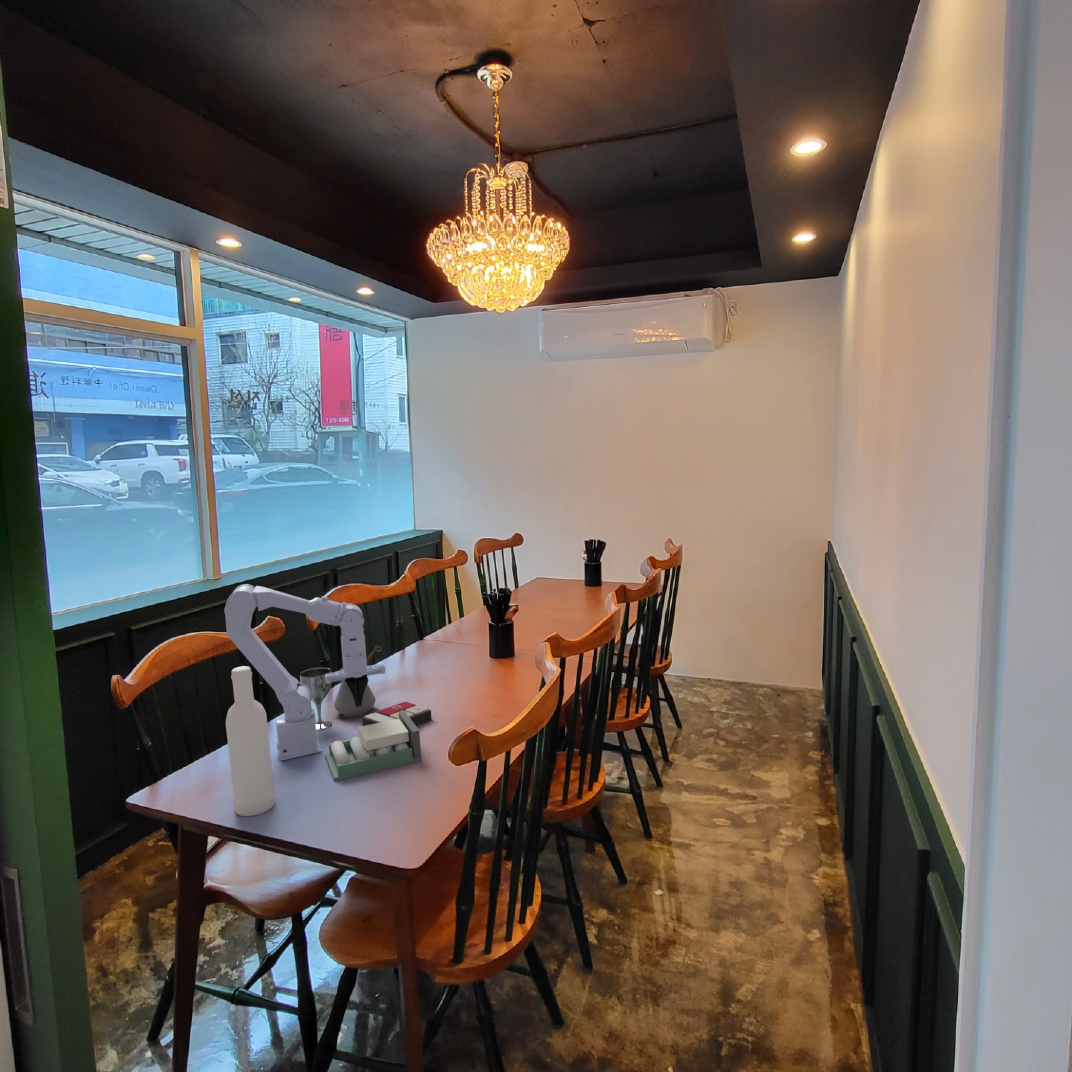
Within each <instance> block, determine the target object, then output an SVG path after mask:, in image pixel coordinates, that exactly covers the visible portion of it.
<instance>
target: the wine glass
mask: <svg viewBox="0 0 1072 1072" xmlns="http://www.w3.org/2000/svg"><path fill="white" fill-rule="evenodd" d="M330 673H332V670H331V668H330V667H322V666H321V667H312V668H308V669H306V670H303V671H301V672H300V674H299V678H300V683H301V684H304V685H306V686H308V687H309V688H310V689H311V691H312V699H311V702H313V704H314V706H315V709H316V712H317V720H316V721H317V722H316V729H325V730H327V727H329V726H332V724H331V723H333V722H334V721H333V722H331V721H332V720H330V721H327V720H328V719H322V705H323V702H324V700H325V698H326V697H327V696H328V695H329V693H330V691H331V688H332V682H331V683H330V684H327V683H326V679H325V674H330ZM332 727H333V726H332Z"/></svg>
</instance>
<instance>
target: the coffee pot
mask: <svg viewBox="0 0 1072 1072" xmlns="http://www.w3.org/2000/svg"><path fill="white" fill-rule="evenodd" d="M379 648H380V650H378V649H379ZM382 649H383V648H382V646H379V645H375V647H374V648H373V649H372V651H371V652H370V653H369V655H367V657H366V662H367V665H368V664H369V663H370V661H372V659H373V657H374V655H375V654H376V653H377V652H381V651H382ZM340 670H344V669H343V667H341V668H340ZM376 700H377V699H376V697H375V695H374V693H373V691H372V689H371V688H370V686H369V684H367V686H366V688H365V691H364V694H363V699H362V706H359V707H356V706H355V702H354V698H353V696H352V693H351V691H350V689H349V687H348V685H347V683H346V682H345V680H341V681H340V685H339V688H338V692H337V695H336V697H335V700H334V703H333V707H334V709H335V711H336V712H338V713H339V714H341V715H342V714H343V715H344V716H343V715H342V716H343V717H349V718H353V717H360V715H361V716H363V714H364V715H366V714H368V713H369V712H370V710H371V709H372V708H373V707H374V706H375V703H376ZM368 711H369V712H368Z"/></svg>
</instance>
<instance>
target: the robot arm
mask: <svg viewBox="0 0 1072 1072" xmlns="http://www.w3.org/2000/svg"><path fill="white" fill-rule="evenodd" d="M272 607H273V608H278V609H283V610H287V611H291V612H297V613H302V614H305V615H307V617H308V620H310V621H313V622H316V623H317V622H318V623H321V624H326V625H331V626H333V627H337V626H339V627H340V628H341V629H340V630H341V636H340V643H341V644H340V645H341V653H342V654H341V655H342V657H341V658H342V668H343V669H344V670H341V669H339V670H337V671H334V672H331V673H330V674H325V679H326V683H327V684H330V683H331V684H332V683H334V682H342V680H345V682H346V683H347V685H348V687H349V689H350V691H351V693H352V696H353V698H354V702H355V706H356V707H359V706H362V699H363V694H364V691H365V688H366V686H367V684H368V683H369V676H375V675H380V674H381V675H383V674H385V675H386V666H385V664H374V665H373V664H372V665H368V664H367V662H366V660H367V653H366V652H367V650H366V649H367V648H366V638H365V634H364V631H365V629H364V626H363V625H364V624H365V619H364V615H363V611H362V609H361V608H360V607H359V606H358V605H355V604H353V603H347V602H344V601H342V603H341V602H338V601H334V600H330V599H328V597H327V596H323V595H322V596H321V597H318V596H317V597H314V598H313V599H311V600H309V599H306V598H302V597H298V596H294V595H292V594H288V593H286V592H282V591H278V590H275V589H272V588H268V587H265V586H260V585H256V586H254V585H252V584H248V583H245V584H240V585H238V586H236V587H235V589H233V591H232V593H231V594H230V595H229V596H228V598H227V600H226V603H225V607H224V610H223V611H224V615H225V627H226V628H225V629H226V634H227V636H228V638H229V639H230V641H232V643H233V644H234V645H235V646H236V648H238V650H239V651H240V652H241V653H242V655H243V656H244V657H245V658H246V659H247V660H248V662H250V664H251V665H252V666H253V668H254V669H256V671H257V672H258V673H259V674H260V675H261V677H262V678H263V679H264V680H265V682H266V683H267V684H268V685H269V686H270V687H271V689H273V691H274V693H275V695H276V697H277V700H278V702H279V703H280V704H281V705H282V707H283V712H284V715H283V718H280V719H275V729H276V737H277V738H276V739H277V740H276V741H277V742H276V750H277V751H278V755H279V759H280V761H284V760H285V761H287V760H290V759H291V760H292V759H294V758H295V759H296V758H299V757H305V756H308V755H313V754H318V753H321V752H322V748H321V745H320V742H319V740H318V734H317V732H318V731H316V721H317V720H316V711H315V710H314V708H312V701H311V699H312V691H311V689H310V688H309V687H308V686H306V685H304V684H301V681H299V680H298V678H296V677H295V676H293V675H291V673H289V672H288V670H287V669H286V668H285V667H284V666H283V665H282V663H281V662H280V661H279V660H278V659H277V657H276V656H275V654H274V653H273V652H272V651H271V650H270V649H269V648H268V647H267V645H266V644H265V643H264V641H262V639H261V638H260V637H259V636H258V634H257V633H256V632H255V631H254V630H253V628H251V625H252V624H251V623H252V621H253V620H252V619H253V614H254V611H255V610H256V608H258V612H261V611H264V610H267V609H269V608H272ZM368 685H369V684H368Z"/></svg>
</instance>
